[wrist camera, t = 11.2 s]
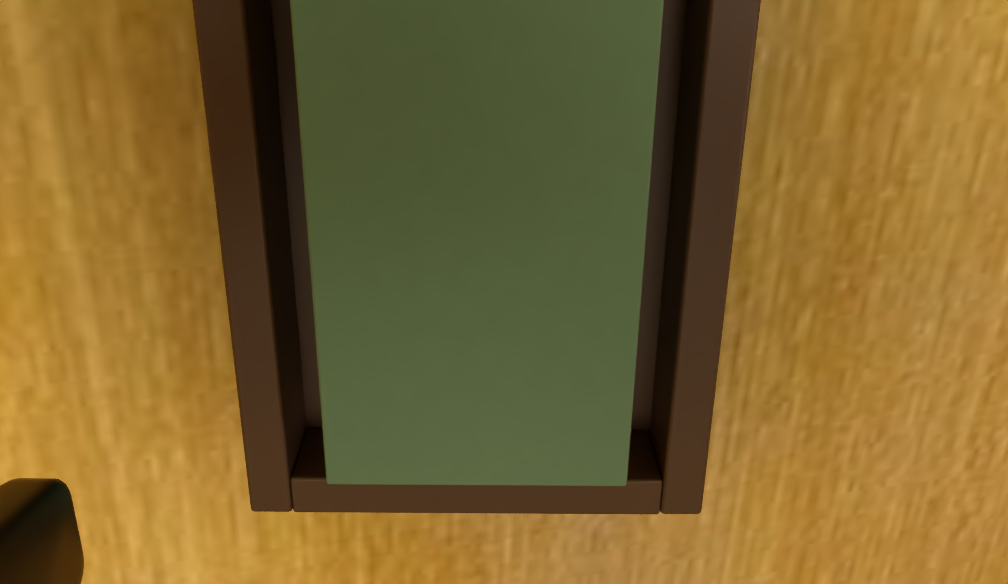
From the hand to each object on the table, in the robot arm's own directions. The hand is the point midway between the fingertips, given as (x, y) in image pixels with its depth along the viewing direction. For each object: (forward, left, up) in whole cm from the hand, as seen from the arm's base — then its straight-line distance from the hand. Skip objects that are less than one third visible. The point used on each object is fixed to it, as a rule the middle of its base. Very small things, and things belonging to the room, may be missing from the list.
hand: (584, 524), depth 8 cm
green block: (+1, +1, -10) cm, 10 cm away
